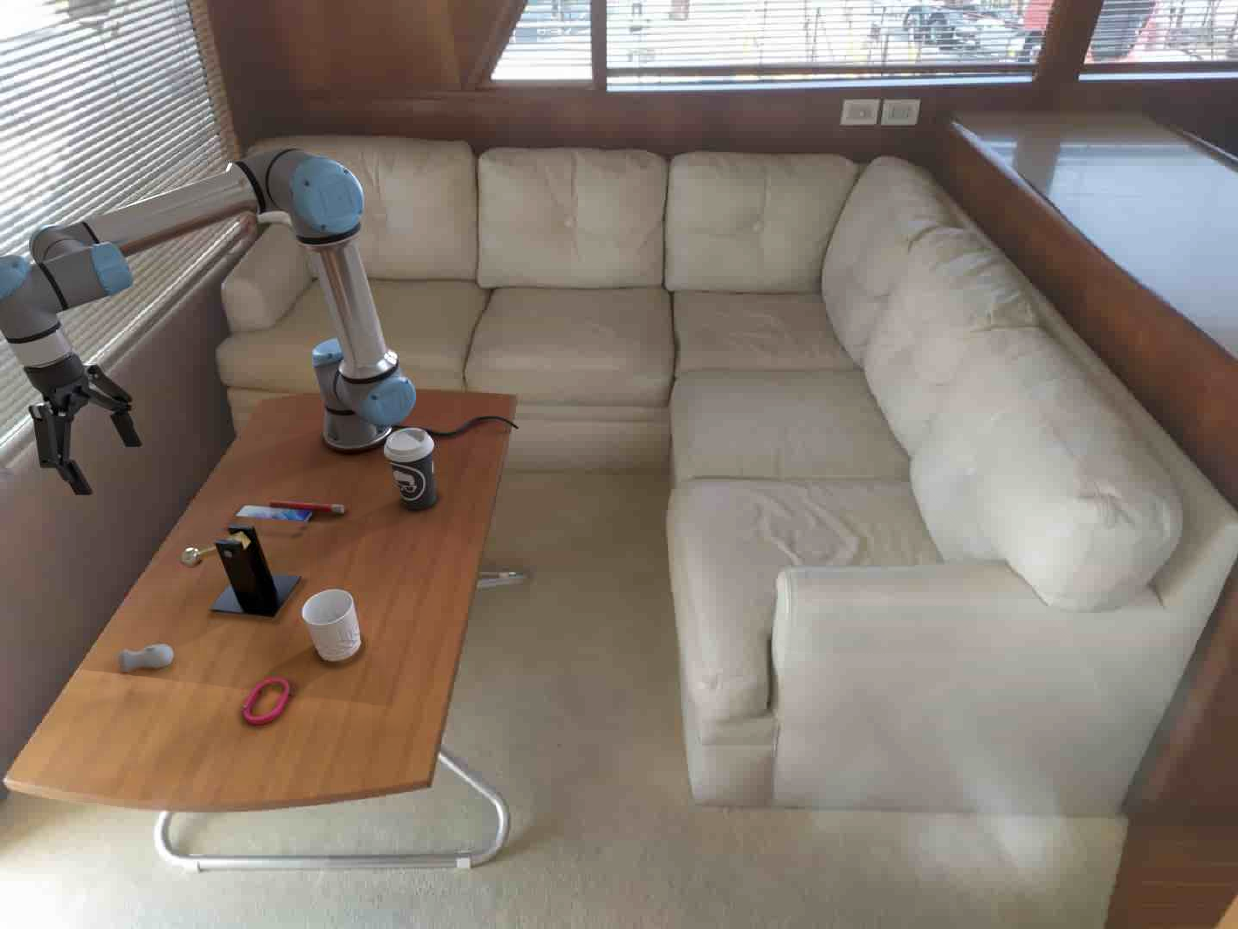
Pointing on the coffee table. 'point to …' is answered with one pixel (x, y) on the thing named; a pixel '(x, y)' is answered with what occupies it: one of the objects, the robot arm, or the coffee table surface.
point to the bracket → (250, 578)
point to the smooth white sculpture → (146, 658)
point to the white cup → (332, 624)
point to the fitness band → (255, 695)
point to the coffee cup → (412, 466)
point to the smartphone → (274, 513)
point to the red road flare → (308, 506)
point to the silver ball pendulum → (208, 551)
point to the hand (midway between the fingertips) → (110, 469)
